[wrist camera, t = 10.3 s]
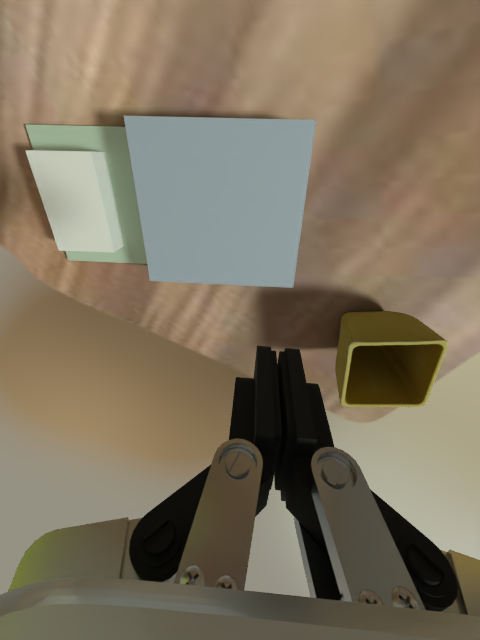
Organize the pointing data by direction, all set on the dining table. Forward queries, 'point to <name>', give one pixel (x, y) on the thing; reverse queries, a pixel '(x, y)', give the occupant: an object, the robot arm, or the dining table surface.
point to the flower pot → (386, 360)
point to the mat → (120, 175)
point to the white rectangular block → (78, 199)
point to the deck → (221, 196)
